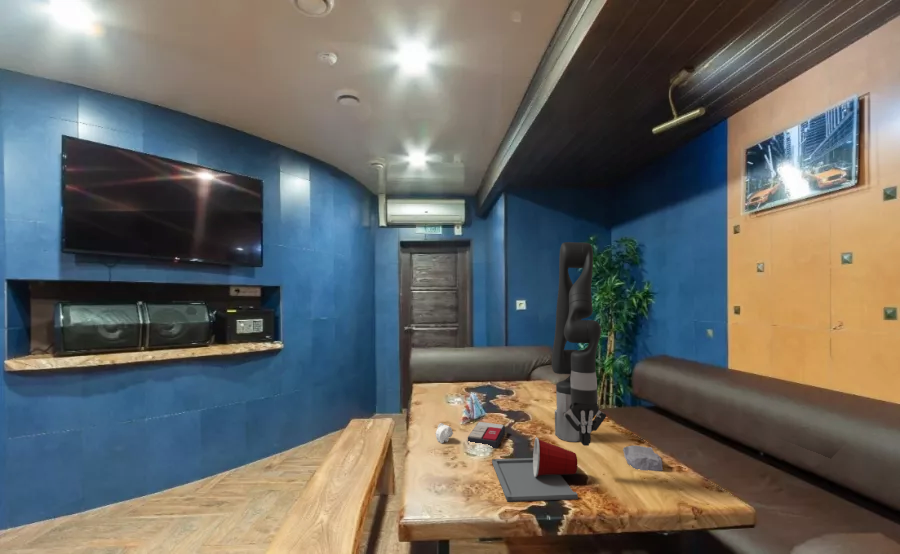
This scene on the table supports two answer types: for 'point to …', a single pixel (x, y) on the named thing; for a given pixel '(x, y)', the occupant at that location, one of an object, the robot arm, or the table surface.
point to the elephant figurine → (443, 433)
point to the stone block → (642, 458)
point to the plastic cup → (552, 459)
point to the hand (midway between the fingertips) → (585, 444)
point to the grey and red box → (487, 434)
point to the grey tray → (529, 482)
